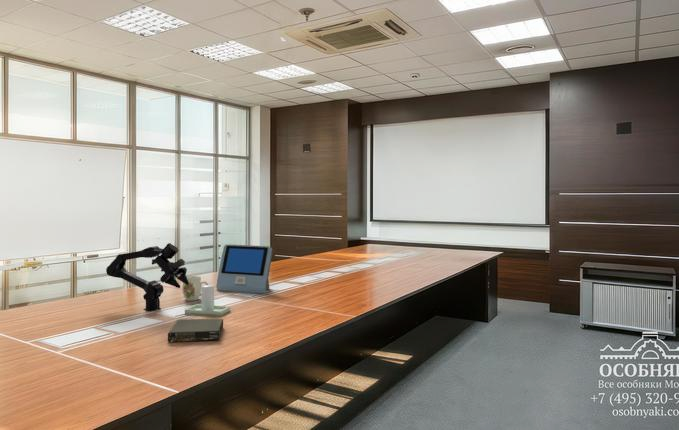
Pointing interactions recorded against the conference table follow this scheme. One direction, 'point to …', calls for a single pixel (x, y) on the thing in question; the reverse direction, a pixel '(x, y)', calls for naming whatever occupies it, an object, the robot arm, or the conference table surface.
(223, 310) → the tray
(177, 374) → the conference table surface
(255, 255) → the touchscreen device
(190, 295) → the pitcher
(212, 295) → the white rounded capsule
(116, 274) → the robot arm
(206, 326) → the network switch
